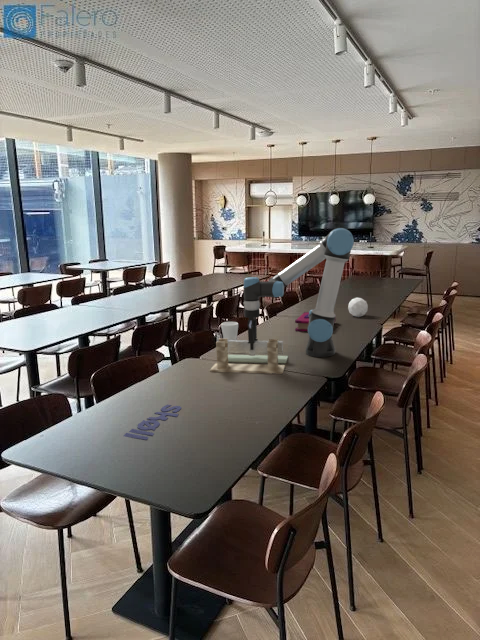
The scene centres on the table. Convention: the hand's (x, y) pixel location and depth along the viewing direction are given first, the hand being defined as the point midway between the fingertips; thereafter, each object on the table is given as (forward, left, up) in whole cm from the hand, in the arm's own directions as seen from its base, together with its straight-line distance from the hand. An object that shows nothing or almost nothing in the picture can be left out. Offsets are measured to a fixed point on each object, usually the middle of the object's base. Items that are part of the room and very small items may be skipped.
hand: (253, 354), depth 239 cm
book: (-28, -74, -3) cm, 79 cm away
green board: (0, 0, -3) cm, 3 cm away
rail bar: (0, 0, +1) cm, 1 cm away
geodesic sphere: (-56, -108, -3) cm, 122 cm away
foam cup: (+17, -24, -3) cm, 29 cm away
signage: (+22, +77, -3) cm, 80 cm away
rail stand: (0, +16, -3) cm, 16 cm away
